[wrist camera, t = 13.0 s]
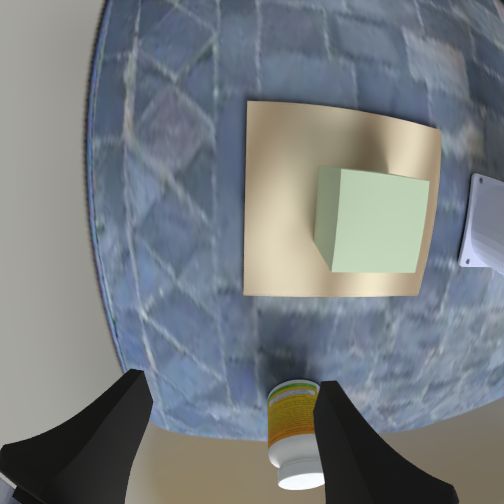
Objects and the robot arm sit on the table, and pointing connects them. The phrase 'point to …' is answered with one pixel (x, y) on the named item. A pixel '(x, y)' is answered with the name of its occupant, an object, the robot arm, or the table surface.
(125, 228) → the table surface
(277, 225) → the wooden board
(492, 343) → the table surface
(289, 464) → the supplement bottle
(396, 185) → the sage cube
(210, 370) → the table surface
